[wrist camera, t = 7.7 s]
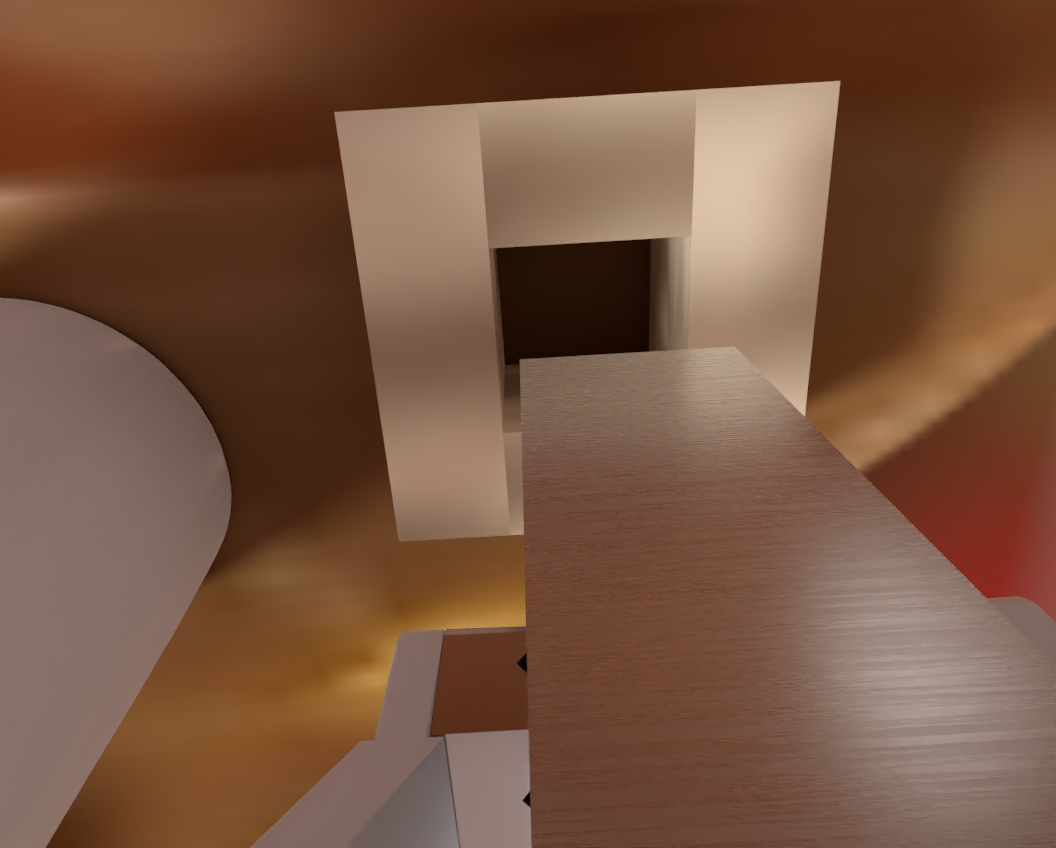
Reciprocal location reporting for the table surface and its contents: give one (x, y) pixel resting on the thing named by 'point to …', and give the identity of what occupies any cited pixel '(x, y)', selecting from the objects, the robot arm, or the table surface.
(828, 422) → the table surface
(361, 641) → the table surface
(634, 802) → the square bar
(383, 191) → the socket block
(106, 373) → the utensil holder
